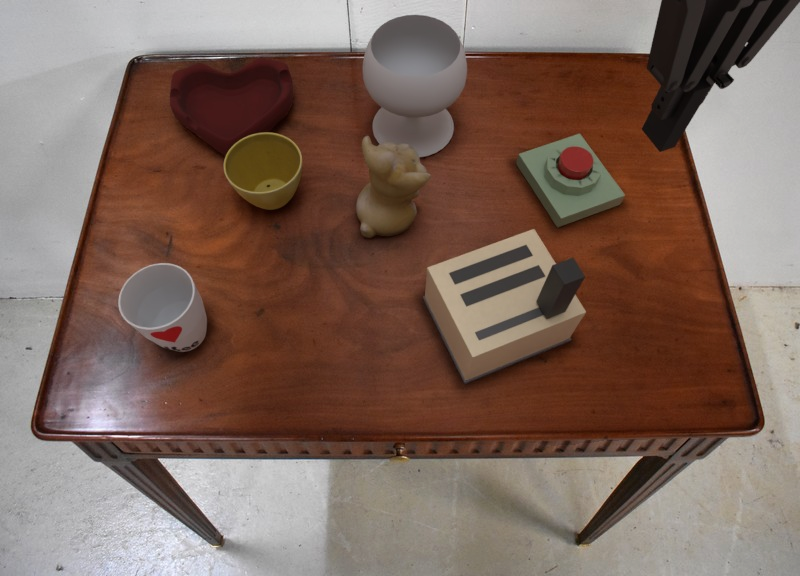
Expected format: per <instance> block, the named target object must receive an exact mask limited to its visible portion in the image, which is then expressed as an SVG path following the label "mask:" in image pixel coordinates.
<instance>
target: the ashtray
mask: <svg viewBox="0 0 800 576" xmlns="http://www.w3.org/2000/svg"><path fill="white" fill-rule="evenodd" d="M294 94H295V93H294V83H293V78H292V74H291V71H290V68H289V66H288V64H287V63H286V62H285V61H282V60H278V59H271V58H269V57H263V56H261V57H257V58H255V59H254V60H252V61H251V62H249V63H248V64H247V65H245V66H244V67H241V68H240V69H238V70H236V71H232V72H226V71H225V72H224V71H220V70H218V69H217V68H214V67H212V66H209V65H207V64H206V63H204V62H196V63H194V64H191V65H189V66H187V67H184V68H181V69H178V70H176V71H174V72H173V73H172V76H171V80H170V91H169V107H170V109H171V112H172V114H173V116H174V117H175V118H176V120H177V121H178V122H179V123H180V124H181V125H182V126H184V127H185V128H186V129H188V131H189V130H190V131H191V132H192V133H193V134H195V135H196V136H197V137H199V138H200V139H201V140H202V141H203V142H205V143H206V144H208V145H209V146H210V147H212V148H213V149H214V150H216V151H217V152H219V153H220V154H221V155H223V156H224V157H226V154H227V153H228V151H229V149H230V148H231V147H232V146H233V145H234V144H235V143H237V142H238V141H239V140H241V139H243V138H244V137H247V136H249V135H252V134H256V133H265V132H267V133H268V132H269V133H270V132H271V131H272V130H273V128H275V126H276V125H277V124H278V123H279V122H281V121H282V120H283V119H284V118H285V117H286V116H287V115H288V113H289V112H290V110H291V108H292V106H293V101H294Z"/></svg>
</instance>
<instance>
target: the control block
mask: <svg viewBox="0 0 800 576" xmlns="http://www.w3.org/2000/svg"><path fill="white" fill-rule="evenodd" d="M574 146H576V147H581V148H584V149H586V150H587V151H589V152H590V154H591V155H592V157H593V165H592V168H591V170H590V172H589V174H588V175H587V176H586V177H585V178H583V179H580V180H571V179H568V178H566V177H564V176H563V175H562V174H561V173H560V172H559V170H558V166H557V165H558V161H559V158H560V155H561V153H562V151H563V150H565V149H566V148H568V147H574ZM515 165H516V166H517V168H518V170H519V171H520V172H521V174H522V176H523V177H524V178H525V180H526V181H527V183H528V185H529V187H530V188H531V189H532V191H533V192H534V194H535V195H536V197H537V198H538V200H539V202H540V203H541V205H542V206H543V208H544V210H545V211H546V213H547V214H548V215H549V217H550V218H551V220H552V222H553V223H554V225H555V226H556V228H560V227H563V226H565V225H569V224H571V223H574V222H577V221H579V220H582V219H585V218H587V217H590V216H593V215H595V214H599V213H602V212H604V211H607V210H609V209H612V208H615V207H618V206H620V205H621V204H622V202H623V201H624V198H625V197H626V194H625V193H624V191H623V190H622V189H621V187H620V186H619V184H618V183H617V182H616V180H615V179H614V177H612V175H611V173H610V172H609V171H608V169H607V168H606V167H605V166H604V164H603V163H602V161H601V160H600V159H599V158H598V156H597V155H596V153H595V152H594V151H593V149H592V148H591V146H590V145H589V144H588V143H587V141H586V139H585V138H584V137H583V136H582V134H581V133H576V134H574V135H571V136H568V137H565V138H561V139H559V140H556V141H553V142H549V143H547V144H544V145H541V146H538V147H535V148H532V149H529V150H526V151H523V152H520V153H518V155H517V159H516V162H515Z"/></svg>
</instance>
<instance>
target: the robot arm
mask: <svg viewBox="0 0 800 576" xmlns="http://www.w3.org/2000/svg"><path fill="white" fill-rule="evenodd" d="M799 3H800V0H660V6H659V10H658V15H657V18H656V25H655V28H654V33H653V38H652V42H651V46H650V49H649V50H650V51H649V55H648V59H647V63H646V70H647V72H649V73H650V74H651V76H652V77H653V78H654V79H655V80H656V81H657V83H658V84H659V85H660V87H659V89H658V91H657V93H656V95H655V97H654V98H653V101H652V103H651V110H650V112H649V113H648V115H647V118H646V119H645V122H644V124H643V126H642V127H641V131H642V132H643V133H644V134H645V136H646V137H647V138H648V139H649V141H650V142H651V143H652V144H653V146H654V147H655V148H656V149H657V151H658V152H659V153H661V152H665V151H667V150H671V149H673V148H676V146H677V145H678V143H679V141H680V139H681V138H682V136H683V135H684V133H685V131H686V129H687V127H688V126H689V124H690V123H691V121H692V119H694V116H695V115H696V113H697V111H698V110H699V108H700V106H702V105H703V103H704V101H705V100H706V98H707V97H708V95H709V93H710V91H711V90H712V89H713V87H714V85H716V86H717V87H718V88H719V89H720V90H724V89H726V88H728V87H729V86H730V85H732V84H733V83H734V81H735V79H734V77H733V76H732V75H731V74H730V73H729V72H730V71H731V69H732V67H734V66H736V67H737V68H738V69H742V68H745V67H747V66H748V65H749V64H750V63H751V62H752V61H753V60H754V58H755V57H756V56H757V55H758V53H760V51H761V50H762V49H763V47H764V46H765V45H766V44H767V43H768V41H770V39H771V38H772V37H773V35H774V34H775V33H776V32H777V31H778V29H779V28H780V27H781V26H782V24H783V23H784V22H785V20H786V19H787V18H788V17H789V16H790V15H791V14H792V12H793V11H794V10H795V8H796V7H797V6H799Z"/></svg>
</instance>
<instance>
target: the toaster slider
mask: <svg viewBox="0 0 800 576" xmlns="http://www.w3.org/2000/svg"><path fill="white" fill-rule="evenodd" d="M585 278H586V275H585V273H584V272H583V270H582V268H580V266H579V264H578V262H577V261H576V260H575V258H574V257H571V258H569V259H565V260H562V261H560V262H557V263H556V264H555V265H552V267H551V270H550V272H549V274H548V276H547V278H546V281H545V283H544V285H543V287H542V290H541V292H540V294H539V296H538V298H537V301H536V302H537V304H538V306H539V307H540V309H541V311H542V312H543V314H544V316H545V318H546V319H549V318H551V317H554V316H556V315H559V314H561V313H564V312H566V310H567V308H568V306H569V305H570V303H571V301H572V299H573V297H574V296H575V295H576V294H577V292H578V290H579V289H580V287H581V285H582V283H583V282H584V279H585Z"/></svg>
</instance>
